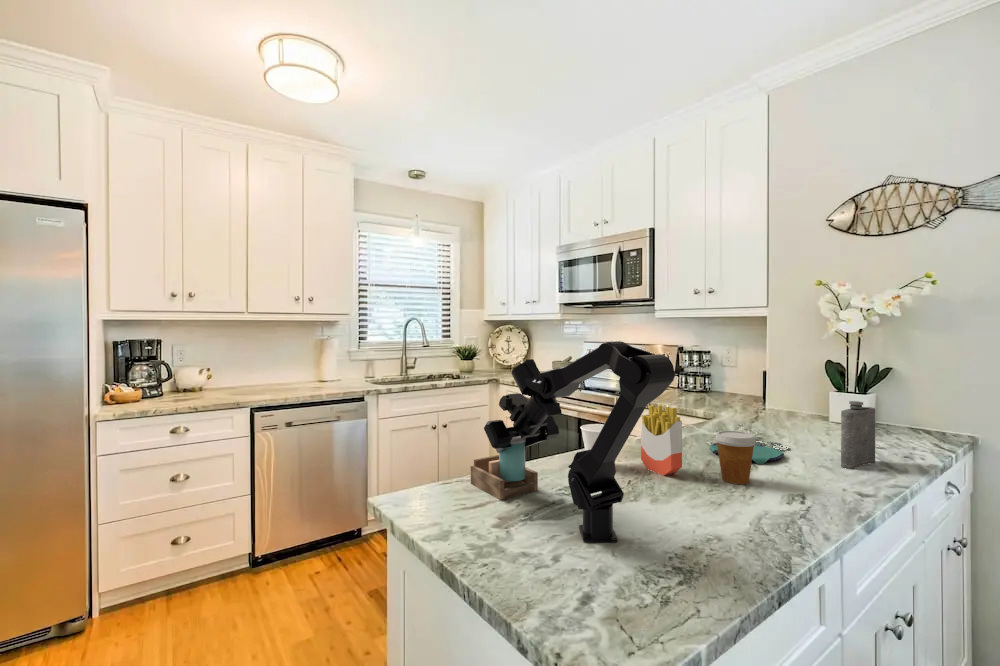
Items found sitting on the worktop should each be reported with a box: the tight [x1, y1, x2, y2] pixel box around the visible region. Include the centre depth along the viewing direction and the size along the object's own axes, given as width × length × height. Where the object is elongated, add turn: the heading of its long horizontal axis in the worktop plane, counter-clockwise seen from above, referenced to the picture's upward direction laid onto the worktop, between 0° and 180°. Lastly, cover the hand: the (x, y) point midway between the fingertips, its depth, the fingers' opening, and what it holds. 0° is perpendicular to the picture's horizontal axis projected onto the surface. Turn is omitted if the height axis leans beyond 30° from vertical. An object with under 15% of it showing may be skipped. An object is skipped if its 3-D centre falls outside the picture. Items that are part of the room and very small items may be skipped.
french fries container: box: [640, 404, 683, 476], centre depth 129 cm, size 5×11×18 cm, turn 28°
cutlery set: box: [708, 438, 791, 465], centre depth 148 cm, size 20×30×2 cm, turn 127°
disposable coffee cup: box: [714, 430, 757, 485], centre depth 122 cm, size 10×10×12 cm
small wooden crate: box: [470, 454, 539, 501], centre depth 119 cm, size 14×11×6 cm
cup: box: [580, 423, 604, 451], centre depth 136 cm, size 10×10×11 cm
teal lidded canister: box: [498, 437, 526, 481], centre depth 115 cm, size 7×7×10 cm
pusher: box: [489, 460, 511, 483], centre depth 118 cm, size 1×8×6 cm, turn 123°
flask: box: [840, 400, 876, 470], centre depth 134 cm, size 4×14×18 cm, turn 117°
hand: (509, 449), depth 116 cm, fingers closed on teal lidded canister, 6 cm apart
